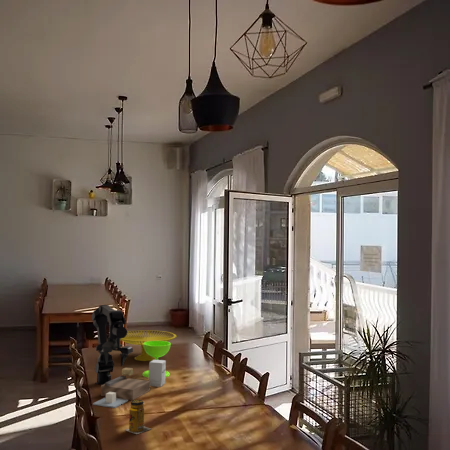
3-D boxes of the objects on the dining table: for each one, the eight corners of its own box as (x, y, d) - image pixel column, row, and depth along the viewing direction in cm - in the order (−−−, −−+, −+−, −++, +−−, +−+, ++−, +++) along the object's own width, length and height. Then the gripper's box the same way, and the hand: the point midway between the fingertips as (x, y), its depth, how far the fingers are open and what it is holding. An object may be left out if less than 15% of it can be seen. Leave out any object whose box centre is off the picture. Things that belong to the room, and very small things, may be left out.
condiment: (124, 430, 229) (125, 401, 230) (140, 425, 236) (140, 396, 236) (136, 434, 225) (137, 405, 225) (151, 429, 231) (152, 400, 231)
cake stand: (172, 366, 341) (173, 342, 341) (107, 364, 341) (108, 340, 342) (179, 352, 381) (179, 330, 381) (120, 351, 382) (121, 329, 382)
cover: (92, 405, 262) (93, 394, 262) (106, 399, 273) (106, 388, 273) (114, 409, 258) (115, 398, 258) (127, 402, 269) (128, 391, 269)
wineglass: (136, 376, 316) (137, 344, 317) (150, 370, 331) (151, 339, 332) (161, 379, 310) (162, 347, 311) (174, 373, 325) (175, 342, 325)
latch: (121, 374, 293) (121, 369, 293) (125, 373, 296) (125, 367, 296) (129, 375, 291) (129, 370, 291) (132, 374, 295) (133, 368, 295)
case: (100, 395, 277) (101, 383, 277) (119, 386, 294) (119, 374, 294) (132, 400, 271) (133, 387, 271) (149, 390, 288) (150, 378, 288)
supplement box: (161, 387, 295) (162, 363, 295) (148, 385, 297) (148, 362, 297) (165, 383, 302) (166, 360, 303) (152, 382, 304) (153, 359, 304)
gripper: (90, 336, 282) (89, 366, 281) (122, 339, 276) (121, 370, 275) (102, 332, 292) (101, 362, 292) (133, 335, 286) (132, 366, 286)
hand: (113, 365), depth 286 cm, fingers open, 9 cm apart
